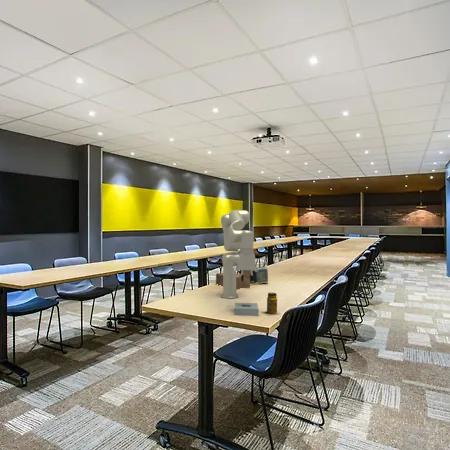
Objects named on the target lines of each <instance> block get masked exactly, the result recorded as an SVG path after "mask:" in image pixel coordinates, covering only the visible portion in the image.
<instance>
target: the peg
mask: <svg viewBox="0 0 450 450" xmlns="http://www.w3.org/2000/svg"><path fill="white" fill-rule="evenodd" d="M243 288H244V289H250V288H251V285H250V271H247V270H244V271H243Z"/></svg>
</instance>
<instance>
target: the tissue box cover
mask: <svg viewBox="0 0 450 450" xmlns="http://www.w3.org/2000/svg"><path fill="white" fill-rule="evenodd" d="M216 284H218V285H217V286H219V285H221V286H220V287H222V286H223V272H216V273H215V285H216ZM240 288H243V282H242V280H241V274H240V273H236V290H241V289H240Z"/></svg>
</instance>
